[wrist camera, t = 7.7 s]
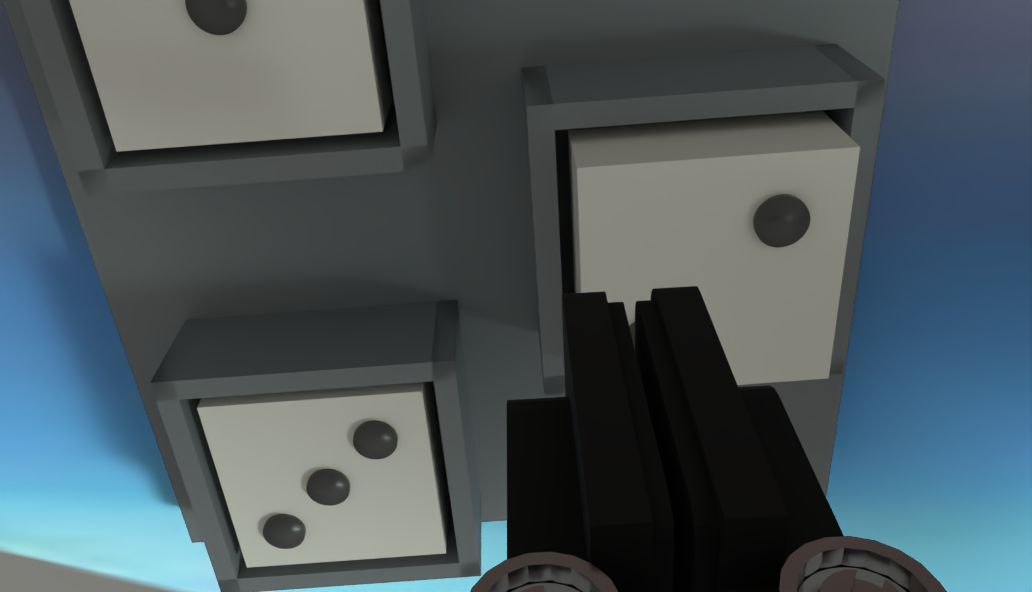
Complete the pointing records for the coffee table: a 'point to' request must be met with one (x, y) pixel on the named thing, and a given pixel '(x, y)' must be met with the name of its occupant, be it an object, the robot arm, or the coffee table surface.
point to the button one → (235, 69)
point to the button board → (426, 225)
